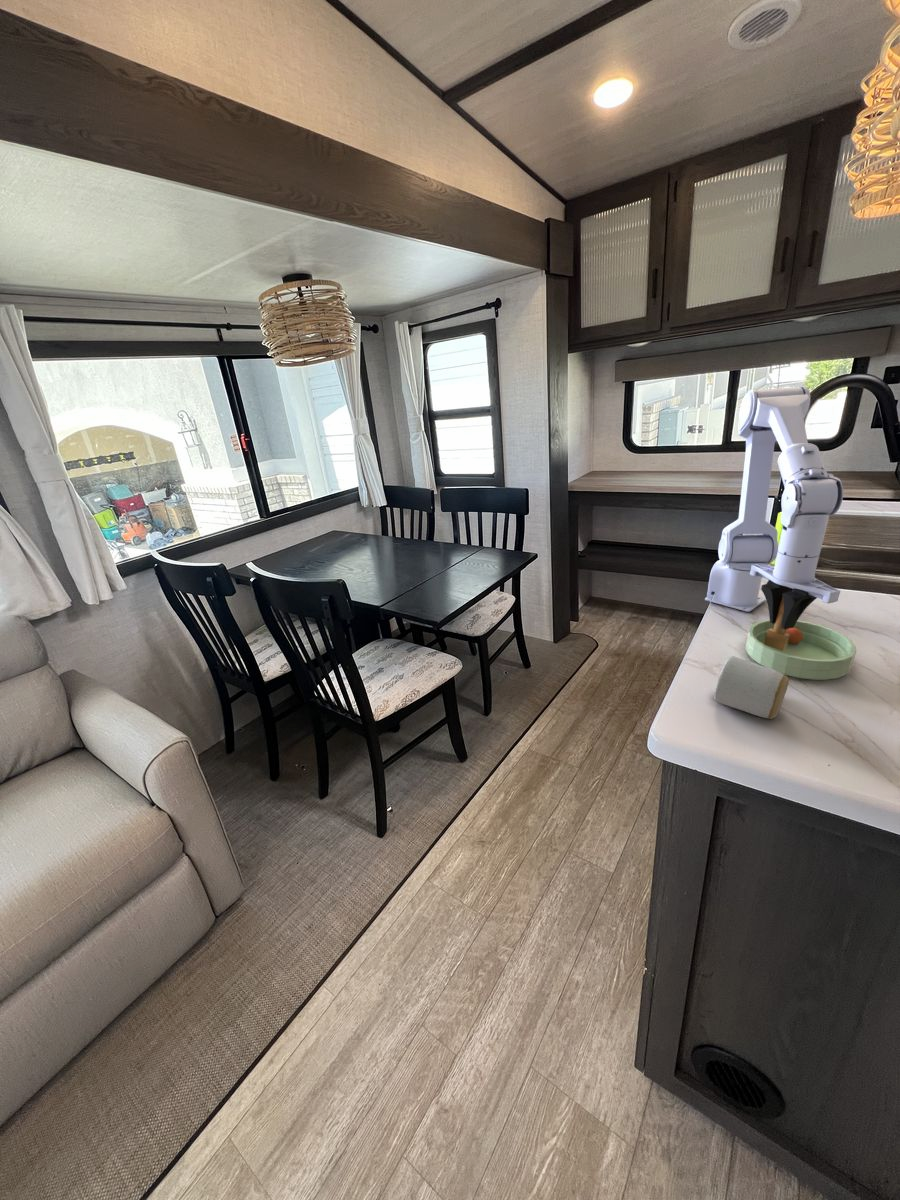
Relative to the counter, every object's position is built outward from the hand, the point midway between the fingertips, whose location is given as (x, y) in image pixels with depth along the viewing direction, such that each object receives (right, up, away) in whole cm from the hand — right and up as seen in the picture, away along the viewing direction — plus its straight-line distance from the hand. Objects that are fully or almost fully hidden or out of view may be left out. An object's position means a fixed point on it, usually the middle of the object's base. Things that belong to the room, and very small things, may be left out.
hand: (781, 624), depth 83 cm
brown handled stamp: (0, -4, +2) cm, 4 cm away
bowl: (+2, -6, 0) cm, 6 cm away
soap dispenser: (+29, +14, +41) cm, 52 cm away
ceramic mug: (-13, -12, -10) cm, 20 cm away
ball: (+4, -2, +3) cm, 6 cm away
